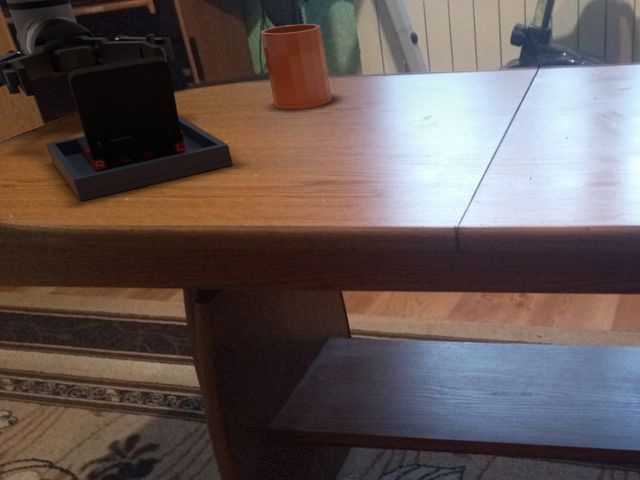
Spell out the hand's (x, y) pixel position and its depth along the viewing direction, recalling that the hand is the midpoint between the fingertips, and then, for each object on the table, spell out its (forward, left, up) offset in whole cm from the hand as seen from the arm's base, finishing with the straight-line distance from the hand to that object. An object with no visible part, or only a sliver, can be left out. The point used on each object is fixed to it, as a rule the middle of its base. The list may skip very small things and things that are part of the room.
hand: (96, 71), depth 78 cm
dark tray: (+8, 0, -8) cm, 11 cm away
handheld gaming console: (+7, 0, -8) cm, 11 cm away
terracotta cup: (-4, +24, -8) cm, 26 cm away
